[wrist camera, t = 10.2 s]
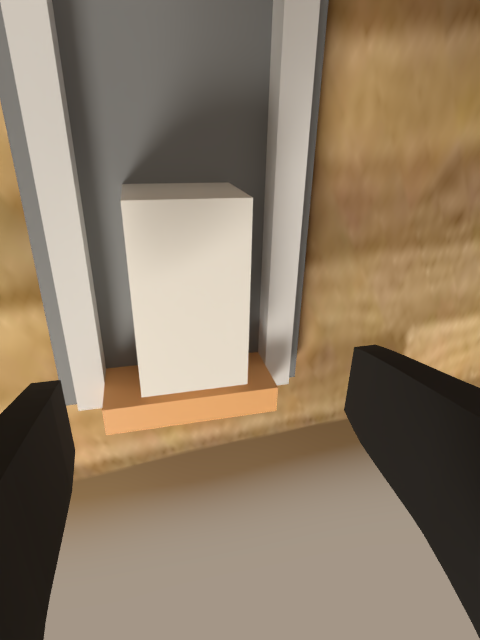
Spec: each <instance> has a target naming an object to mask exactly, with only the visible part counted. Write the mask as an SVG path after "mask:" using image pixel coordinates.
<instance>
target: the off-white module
mask: <svg viewBox="0 0 480 640" xmlns="http://www.w3.org/2000/svg"><path fill="white" fill-rule="evenodd" d="M120 201H121V210H122V220H123V229H124V238H125V248H126V257H127V266H128V276H129V285H130V294H131V304H132V313H133V322H134V332H135V341H136V350H137V360H138V369H139V378H140V388H141V397H150V396H158V395H165V394H173V393H181V392H189V391H197V390H205V389H213V388H221V387H228V386H236V385H244V384H247V383H248V350H249V316H250V283H251V250H252V217H253V197H251V196H250V195H248V194H246V193H245V192H243V191H242V190H240V189H238V188H237V187H235V186H233V185H232V184H230V183H229V182H225V183H153V184H122V191H121V200H120Z"/></svg>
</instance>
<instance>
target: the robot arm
mask: <svg viewBox="0 0 480 640" xmlns="http://www.w3.org/2000/svg"><path fill="white" fill-rule="evenodd" d="M344 411H345V413H346V415H347V417H348V419H349V421H350V423H351V425H352V427H353V429H354V431H355V433H356V435H357V437H358V439H359V441H360V443H361V444H362V446H363V447H364V448H365V450H366V452H367V453H368V454H369V456H370V457H371V459H372V460H373V462H374V463H375V465H376V466H377V468H378V469H379V470H380V472H381V473H382V475H383V476H384V477H385V479H386V480H387V482H388V483H389V484H390V486H391V487H392V489H393V490H394V491H395V493H396V494H397V496H398V497H399V499H400V500H401V502H402V503H403V504H404V506H405V507H406V509H407V510H408V512H409V513H410V514H411V516H412V517H413V519H414V520H415V522H416V523H417V525H418V527H419V528H420V530H421V531H422V533H423V534H424V536H425V538H426V539H427V541H428V543H429V545H430V547H431V548H432V550H433V552H434V554H435V555H436V557H437V559H438V561H439V562H440V564H441V566H442V568H443V569H444V571H445V573H446V575H447V576H448V578H449V580H450V582H451V584H452V586H453V588H454V590H455V592H456V593H457V595H458V597H459V599H460V601H461V603H462V605H463V606H464V608H465V610H466V612H467V614H468V616H469V618H470V620H471V622H472V624H473V626H474V628H475V630H476V632H477V634H478V636H479V638H480V388H478V387H476V386H474V385H471V384H469V383H466V382H464V381H462V380H459V379H457V378H455V377H452V376H450V375H448V374H445V373H443V372H441V371H438V370H436V369H434V368H432V367H429V366H427V365H425V364H422V363H420V362H418V361H416V360H413V359H411V358H409V357H406V356H404V355H402V354H399V353H397V352H394V351H392V350H389V349H387V348H384V347H381V346H378V345H369V346H360V347H354V352H353V358H352V365H351V371H350V377H349V383H348V390H347V396H346V402H345V408H344ZM74 459H75V447H74V442H73V437H72V433H71V428H70V423H69V418H68V413H67V408H66V404H65V399H64V394H63V389H62V384H61V380H56V381H48V382H39V383H31V384H30V385H29V386H28V387H27V388H26V389H25V390H24V391H23V392H22V393H21V394H20V395H19V396H18V397H17V398H16V399H15V400H14V401H13V402H12V403H11V404H10V405H9V406H8V407H7V408H6V409H5V410H4V411H3V412H2V413H1V414H0V640H43V639H44V630H45V622H46V616H47V610H48V604H49V599H50V594H51V589H52V584H53V579H54V574H55V570H56V565H57V561H58V555H59V551H60V546H61V542H62V537H63V532H64V528H65V523H66V517H67V513H68V508H69V503H70V498H71V493H72V483H73V473H74Z"/></svg>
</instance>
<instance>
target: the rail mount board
mask: <svg viewBox="0 0 480 640" xmlns="http://www.w3.org/2000/svg"><path fill="white" fill-rule="evenodd" d="M328 1H329V0H0V100H1V105H2V110H3V115H4V119H5V124H6V129H7V134H8V139H9V143H10V148H11V153H12V158H13V163H14V167H15V172H16V177H17V182H18V186H19V191H20V196H21V201H22V206H23V210H24V215H25V220H26V225H27V230H28V234H29V239H30V244H31V249H32V253H33V258H34V263H35V268H36V273H37V277H38V282H39V287H40V292H41V297H42V301H43V306H44V311H45V316H46V320H47V325H48V330H49V335H50V340H51V344H52V349H53V354H54V359H55V364H56V368H57V373H58V378H59V380H61V384H62V389H63V394H64V399H65V404H66V405H74V404H77V405H78V411H82V410H89V409H97V408H102V413H103V419H104V425H105V432H106V435H111V434H118V433H125V432H132V431H139V430H146V429H153V428H160V427H167V426H174V425H181V424H188V423H194V422H201V421H208V420H215V419H222V418H229V417H236V416H243V415H250V414H257V413H264V412H271V411H276V409H277V395H278V387H277V385H282V384H288V383H289V377H295V367H296V356H297V345H298V334H299V322H300V311H301V300H302V289H303V278H304V267H305V256H306V245H307V234H308V223H309V212H310V200H311V189H312V178H313V167H314V156H315V145H316V134H317V123H318V112H319V101H320V90H321V79H322V67H323V56H324V45H325V34H326V23H327V12H328ZM225 182H229V183H230V184H232V185H233V186H235V187H237V188H238V189H240V190H242V191H243V192H245V193H246V194H248V195H250V196H251V197H253V217H252V250H251V283H250V316H249V350H248V383H247V384H244V385H236V386H228V387H221V388H213V389H205V390H197V391H189V392H181V393H173V394H165V395H158V396H150V397H141V388H140V378H139V369H138V360H137V350H136V341H135V332H134V322H133V313H132V304H131V294H130V285H129V276H128V266H127V257H126V248H125V238H124V229H123V220H122V210H121V201H120V200H121V191H122V184H153V183H225Z"/></svg>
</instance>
